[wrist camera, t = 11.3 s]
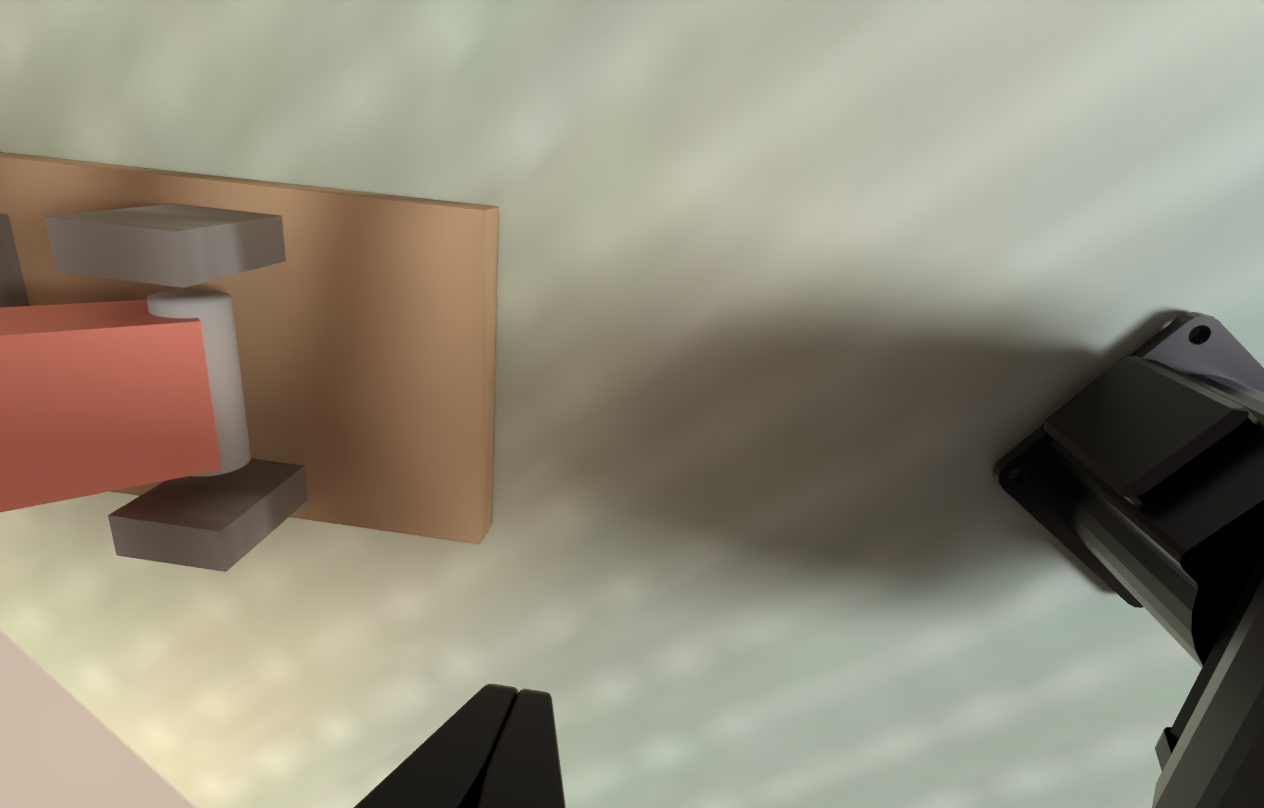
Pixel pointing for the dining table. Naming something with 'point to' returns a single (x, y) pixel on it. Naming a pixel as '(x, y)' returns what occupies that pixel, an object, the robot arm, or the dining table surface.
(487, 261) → the base
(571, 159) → the dining table surface
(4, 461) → the lever
